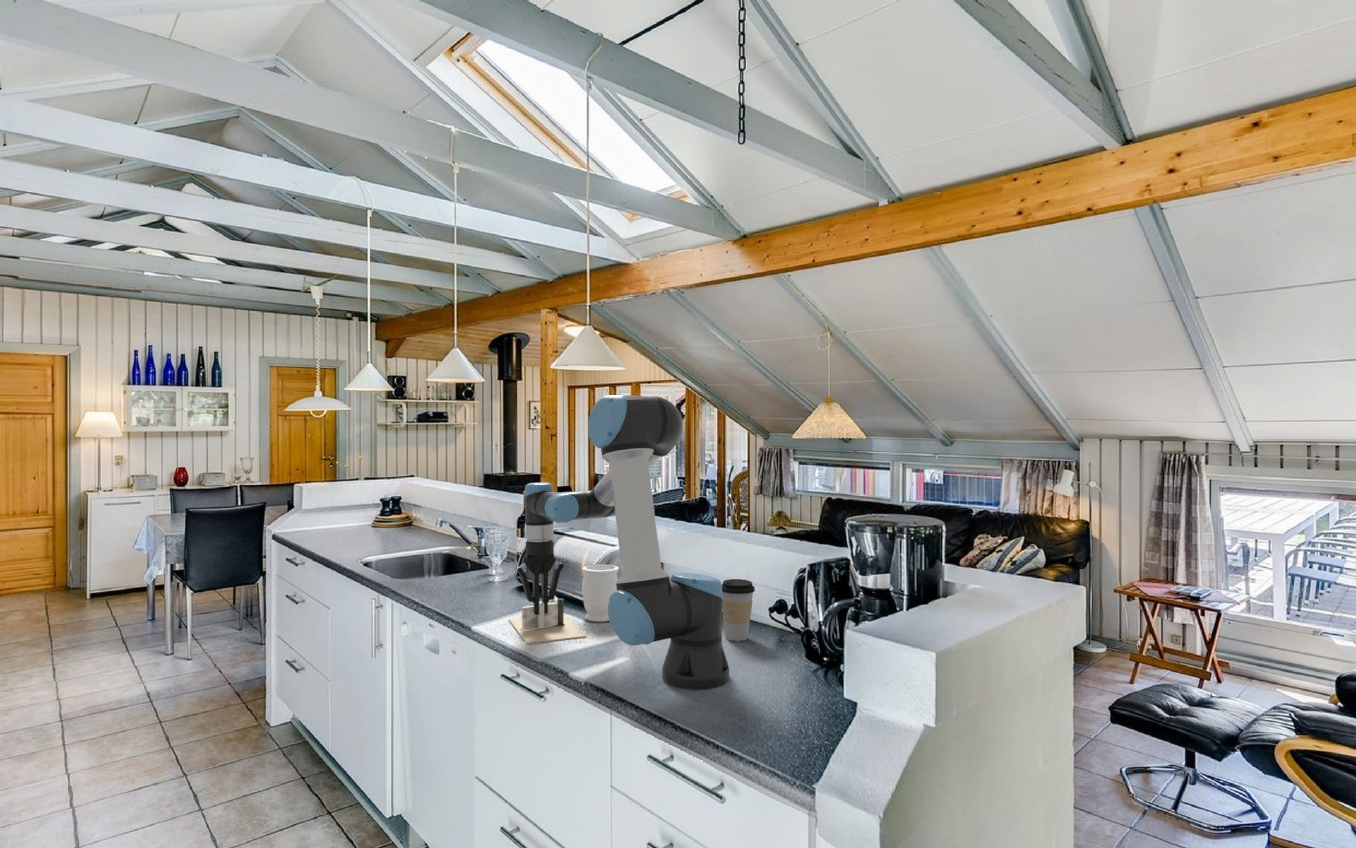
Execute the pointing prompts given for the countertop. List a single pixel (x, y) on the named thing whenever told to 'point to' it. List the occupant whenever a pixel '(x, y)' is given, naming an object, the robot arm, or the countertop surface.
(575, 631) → the card
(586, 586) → the jar
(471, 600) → the countertop surface
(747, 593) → the coffee cup
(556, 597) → the fence fixed
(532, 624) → the fence flap
